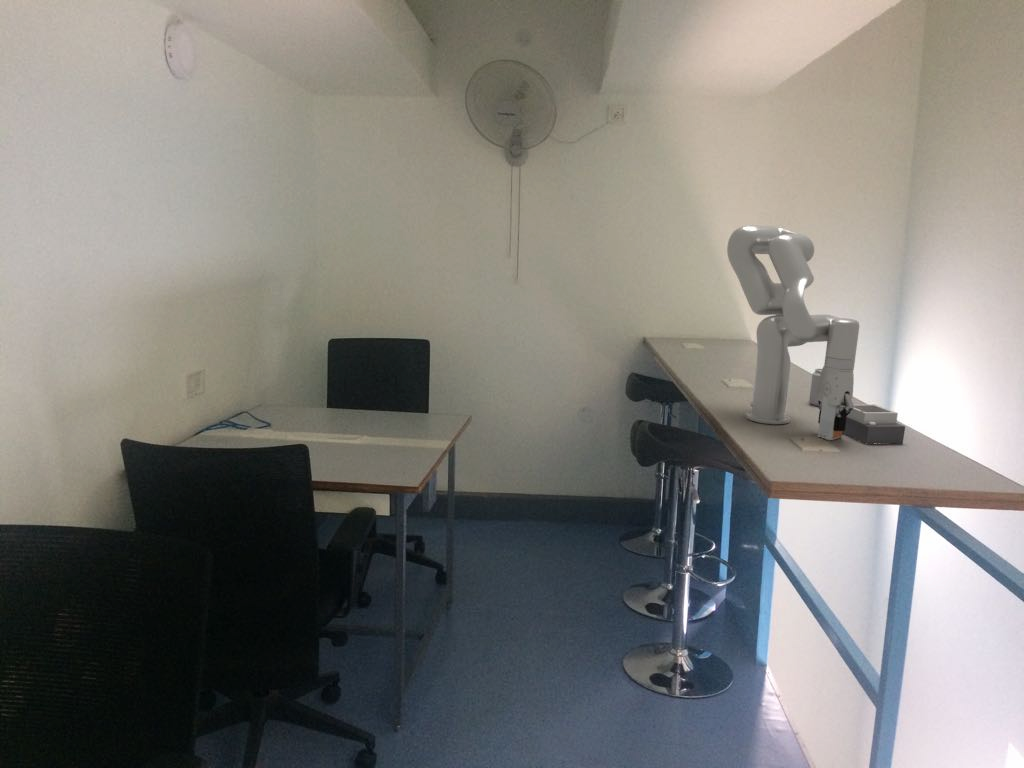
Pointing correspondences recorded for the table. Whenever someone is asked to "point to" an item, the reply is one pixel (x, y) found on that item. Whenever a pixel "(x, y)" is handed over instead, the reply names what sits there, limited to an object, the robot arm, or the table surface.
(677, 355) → the table surface
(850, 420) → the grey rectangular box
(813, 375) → the can
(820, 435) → the skincare box
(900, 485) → the table surface
